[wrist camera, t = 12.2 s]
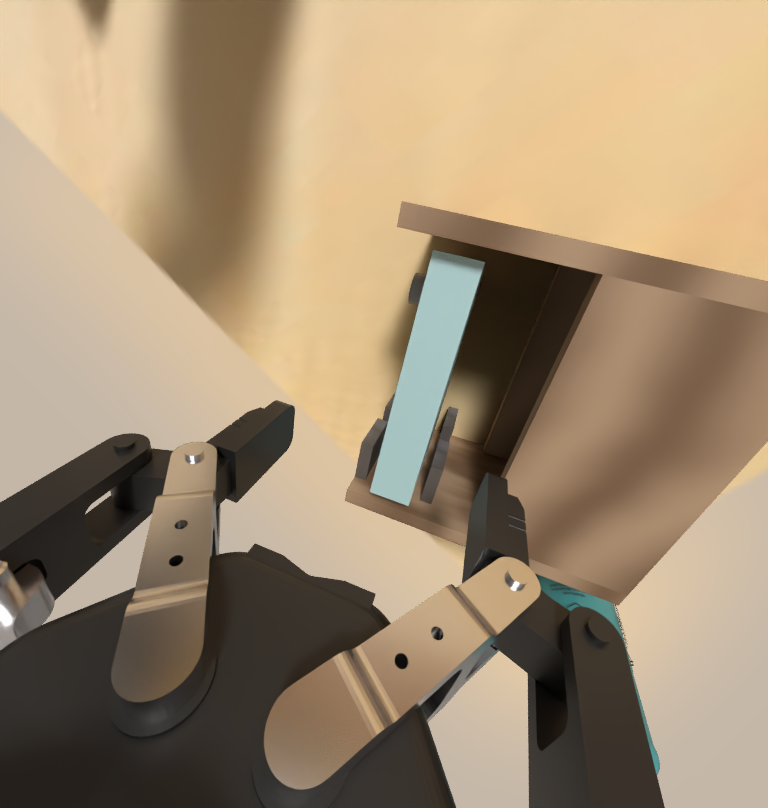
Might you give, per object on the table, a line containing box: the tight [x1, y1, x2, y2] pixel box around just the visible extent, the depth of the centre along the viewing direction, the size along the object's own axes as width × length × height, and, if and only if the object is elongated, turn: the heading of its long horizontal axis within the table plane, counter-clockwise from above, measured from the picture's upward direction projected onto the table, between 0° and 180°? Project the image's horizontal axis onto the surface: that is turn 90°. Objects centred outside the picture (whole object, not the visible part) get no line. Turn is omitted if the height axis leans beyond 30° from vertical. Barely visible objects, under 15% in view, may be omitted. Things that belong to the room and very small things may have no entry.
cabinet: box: [345, 201, 768, 605], centre depth 23 cm, size 18×18×11 cm
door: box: [370, 250, 485, 506], centre depth 23 cm, size 4×14×10 cm, turn 169°
